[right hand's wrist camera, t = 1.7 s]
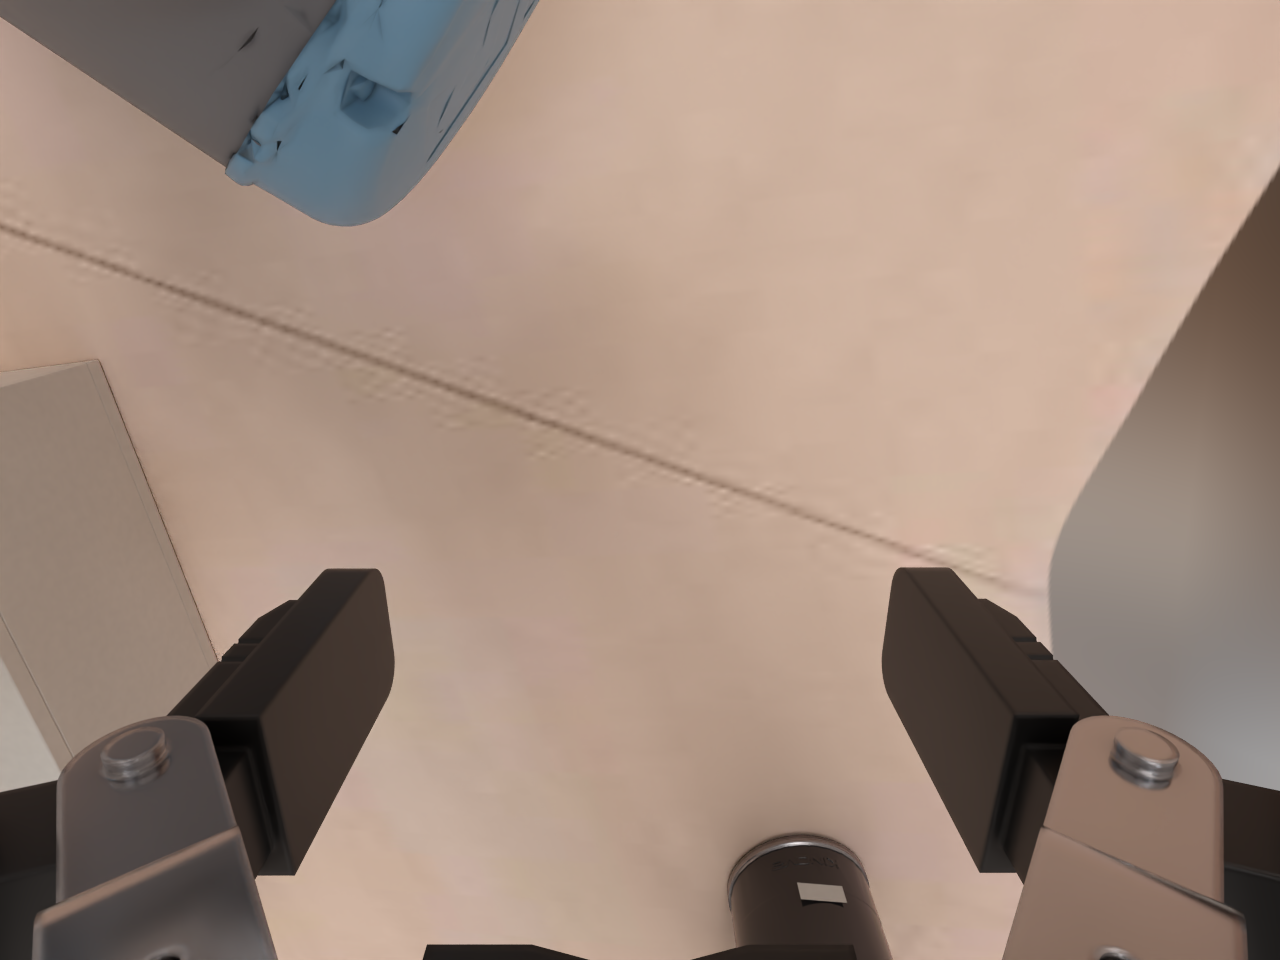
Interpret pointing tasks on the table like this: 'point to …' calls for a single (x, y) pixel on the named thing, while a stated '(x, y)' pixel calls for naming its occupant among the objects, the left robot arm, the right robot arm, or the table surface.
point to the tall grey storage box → (82, 578)
